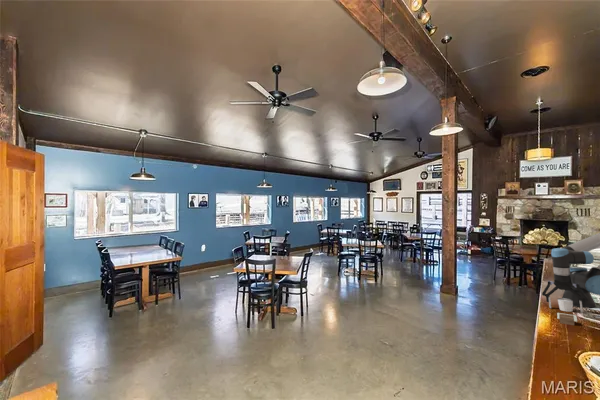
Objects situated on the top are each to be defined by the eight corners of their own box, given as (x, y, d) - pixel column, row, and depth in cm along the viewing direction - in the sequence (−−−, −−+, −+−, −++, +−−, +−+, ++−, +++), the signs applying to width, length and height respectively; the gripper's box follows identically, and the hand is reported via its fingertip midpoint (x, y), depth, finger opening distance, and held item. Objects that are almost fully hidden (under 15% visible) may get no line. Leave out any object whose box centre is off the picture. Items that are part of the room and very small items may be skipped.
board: (557, 314, 163) (557, 312, 163) (576, 316, 157) (576, 315, 157) (557, 319, 155) (557, 318, 155) (577, 323, 149) (577, 321, 149)
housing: (560, 321, 153) (559, 313, 153) (574, 323, 149) (573, 315, 149) (560, 324, 149) (559, 316, 149) (574, 327, 145) (573, 318, 145)
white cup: (577, 313, 162) (576, 301, 162) (563, 313, 163) (562, 301, 164) (568, 309, 169) (567, 297, 169) (555, 309, 170) (554, 297, 170)
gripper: (534, 273, 173) (538, 307, 172) (592, 277, 156) (596, 316, 155) (535, 271, 178) (538, 304, 177) (591, 275, 161) (595, 312, 160)
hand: (565, 309), depth 166 cm, fingers open, 13 cm apart
